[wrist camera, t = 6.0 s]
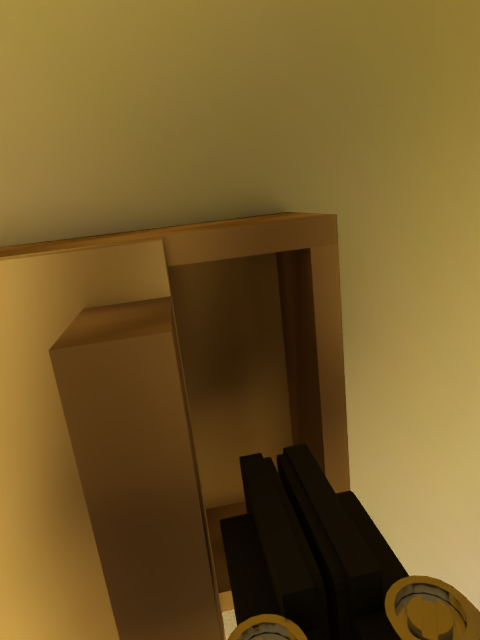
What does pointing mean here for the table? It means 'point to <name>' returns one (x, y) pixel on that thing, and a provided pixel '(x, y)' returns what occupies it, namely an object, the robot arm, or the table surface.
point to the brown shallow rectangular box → (252, 347)
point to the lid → (98, 453)
